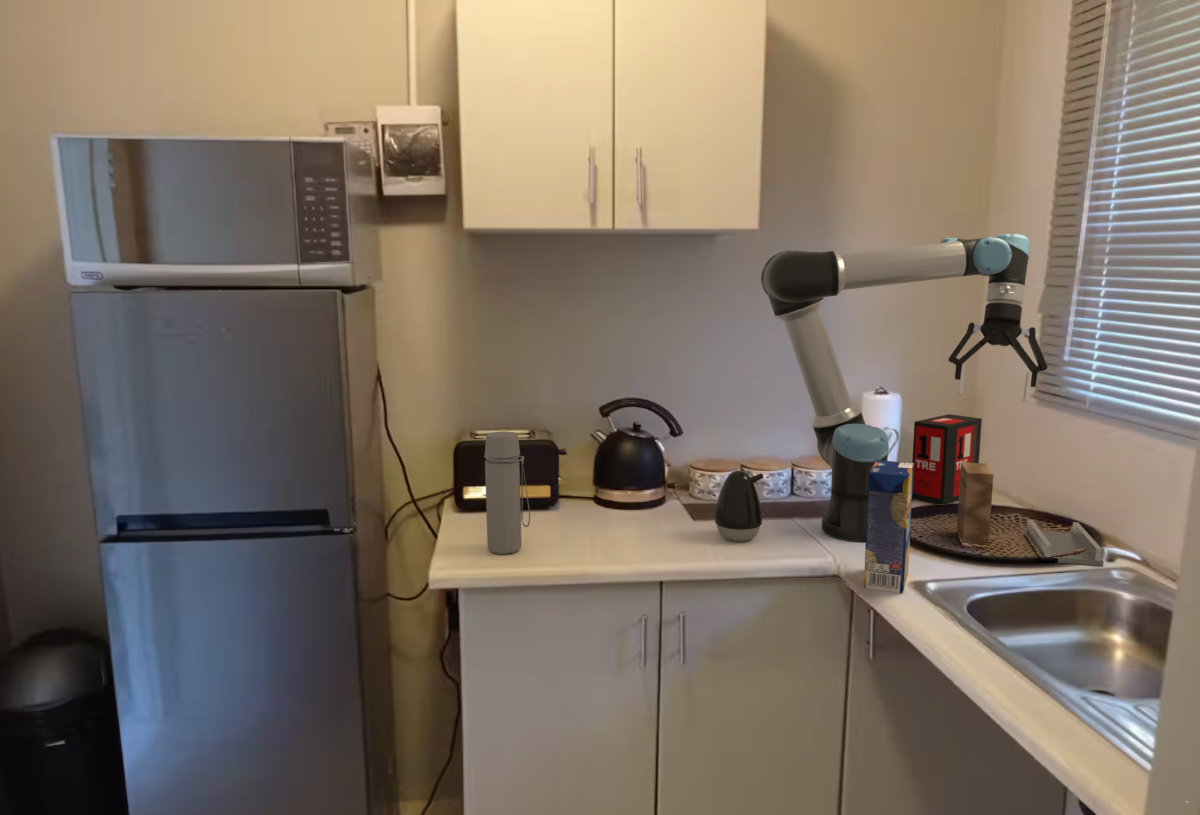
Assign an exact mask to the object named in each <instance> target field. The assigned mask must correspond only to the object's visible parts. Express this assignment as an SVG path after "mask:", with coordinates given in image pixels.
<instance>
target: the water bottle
mask: <svg viewBox="0 0 1200 815" xmlns="http://www.w3.org/2000/svg"><path fill="white" fill-rule="evenodd" d="M519 443H520V442H519V435H518V433H517V432H516V431H507V430H506V431H493V432H488V433H487V434H486V435H485V444H484V445H485V448H484V449H485V450H484V455H483V457H484V458H485V459H486V460H484V473H485V474H484V475H485V476H484V478H485V501H486V502H485V504H486V505H485V506H486V507H485V508H486V510H485V511H486V540H487V542H486V543H487V549H488V550H489V551H490V552H491V553H492V552H493V553H492V554H495V553H497V554H496V555H511V554H510V553H512V554H514V553H516V552H519V551H520V550H521V547H522V526H523V527H524V528H526V527H527V528H528V527H529V526H530V523H531V521H530V520H531V511H530V510H531V509H530V504H529V498H528V490H527V481H526V477H525V474H524V473H525V468H524V462H525V456H523V455H520V454H521V451H520V450H521V449H520V444H519ZM519 458H520V459H519ZM520 464H521V470H520ZM520 471H521V473H520ZM523 478H524V479H523ZM523 482H524V483H523ZM523 484H524V485H523ZM523 486H525V494H526V501H527V508H528V522H527V524H525V523H524V521H523V518H524V517H523V513H524V512H523V510H524V509H523V507H524V506H523V502H524V501H523V496H524V495H523Z"/></svg>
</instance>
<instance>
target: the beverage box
mask: <svg viewBox="0 0 1200 815" xmlns="http://www.w3.org/2000/svg"><path fill="white" fill-rule="evenodd" d="M913 469H914V463H912V462H905V461H895V460H893V461H891V460H887V461H882V460H876V461H875V463H874V464H873V466H872V468H871V470H870V471H869V481H868V503H867V526H866V542H865V551H864V553H865V554H864V572H863V573H864V574H863V589H868V590H874V591H875V590H876V591H883V592H889V593H896V594H903V593H904V590H905V586H906V584H907V579H908V576H909V561H910V560H909V559H910V544H911V543H910V540H911V524H912V523H911V522H912V503H913V499H912V488H913Z"/></svg>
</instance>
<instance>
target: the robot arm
mask: <svg viewBox="0 0 1200 815" xmlns="http://www.w3.org/2000/svg"><path fill="white" fill-rule="evenodd" d="M1029 259H1030V239H1029V238H1028V237H1027V236H1026V235H1023V234H1018V233H1003V234H1002V233H1001V234H998V235H996V236H990V237H981V238H971V239H970V238H968V239H967V238H966V239H965V238H958V237H944V238H943V239H942V240H940V241H939V243H931V244H923V245H921V244H920V245H915V246H912V245H911V246H905V247H895V248H888V249H879V250H878V249H877V250H871V251H870V250H868V251H862V252H853V253H852V252H851V253H845V254H844V253H843V254H839V253H837V252H836V251H835V250H829V251H804V250H802V251H801V250H785V251H780V252H778V253H776V254H773V255H772V256H771V257H770V258H769V259H768V260H767V261H766V262H765V263H764V266H763V268H762V270H761V276H760V281H761V286H762V289H763V292H764V293H765V294H766V295H767V297H768V299H769V303H770V306H771V308H772V311H773V314H774V317H775V318H777V319H779V320H780V321H783V323H784V326H785V328H786V331H787V334H788V338H789V341H790V343H791V346H792V349H793V352H794V356H795V358H796V361H797V364H798V367H799V369H800V373H801V375H802V379H803V382H804V384H805V387H806V390H807V394H808V395H809V399H810V401H811V405H812V408H813V412H814V414H815V418H814V420H813V422H812V423H811V425H812V428H813V431H814V434H815V437H816V440H817V441H816V445H817V450H818V452H819V455H820V457H821V458H822V460H823V461H824V462H825V463H826V464H827V465H829V467H830V468H831V486H830V488H831V489H830V490H831V491H830V492H831V493H830V498H829V500H828V504H826V508H825V511H824V514H823V516H822V519H821V530H822V532H824V534H826V535H827V536H830V537H833V538H836V539H839V540H846V541H852V542H865V543H866V526H867V503H868V481H869V471H870V470H871V468H872V466H873V464H874V463H875V461H876V460H882V461H888V455H889V450H890V448H889V447H890V445H889V437H888V435H887V433H886V431H885V430H883V429H882V428H879V427H878V426H873V425H870V424H866V421H865V418H864V416H863V412H862V410H861V408H859V407H857V406H854V405H853V404H852V400H851V398H850V395H849V392H848V389H847V385H846V383H845V380H844V377H843V374H842V371H841V369H840V365H839V361H838V359H837V356H836V354H835V353H836V352H835V351H834V348H833V344H832V341H831V338H830V336H829V333H828V332H829V331H828V329H827V326H826V323H825V320H824V316H823V315H822V311H821V307H822V306H823V303H824V301H825V298H829V297H834V296H835V297H837V296H839V295H840V293H841V292H842V291H846V290H857V289H863V288H864V289H866V288H871V287H872V288H873V287H880V286H881V287H882V286H889V285H890V286H891V285H900V284H908V283H916V282H924V281H933V280H935V281H936V280H943V279H950V278H959V277H971V276H982V277H988V283H987V284H988V285H987V292H986V299H985V300H986V303H987V304H986V305H985V310H984V315H983V322H982V325H981V324H975V323H974V322H970V323H968V325H967V329H966V332H965V334H964V335H963V337H962V338H961V340H960V341H959V342H958V344H957V345H956V347H955V349H954V350H953V351H952V353H951V355H949V356H948V359H947V361H948V363H951V364H954V366H955V370H954V380H958V381H959V382H958V391H957V395H959V396H962V395H963V392H964V382H965V375H966V366H967V365H964V363H965V362H966V361H967V360H969V359H970V358H971V357H972V356H974V354H976V353H977V352H978V351H980V350H981V348H982V347H984V346H985V345H986V344H989V345H991V346H1001V347H1009V346H1011V348H1012V349H1013V350H1014V351H1015V352H1016V354H1017V355H1018V357H1019V358H1020V359H1021V360H1022V362H1023V363H1024V365H1025V366H1026V367H1027V369H1029V371H1027V372H1026V375H1025V376H1026V377H1025V384H1024V393H1023V400H1022V402H1024V403H1028V402H1030V401H1029V400H1030V391H1031V388H1035V387H1036V385H1037V379H1038V374H1039V372H1040V373H1041V372H1044V371H1046V370H1047V369H1048V364H1047V362H1046V360H1045V357H1044V355H1043V352H1042V350H1041V347H1040V345H1039V343H1038V340H1037V337H1036V328H1035V327H1033V326H1032V327H1030V328H1029V327H1027V328H1022V326H1021V320H1022V313H1023V311H1022V310H1023V307H1022V304H1023V303H1024V297H1025V296H1024V295H1025V286H1026V278H1027V273H1028V264H1029ZM978 331H980V332H981V334H982V336H983V338H982V339H981V340H980V341H978V342H977V343H976V344H975V345H973V347H972V348H970V349H969V350H968V351H967V352H966V353H965V354H963V356H961V357H960V358H957V357H958V356H959V354H960V352H962V350H963V348H964V347H965V345H966V344H967V342H968V341H969V339H971V336H972V335H974V334H977V332H978ZM1021 334H1022V335H1023V336H1024V338H1025V339H1027V341H1028V343H1029V346H1030V348H1031V350H1032V354H1033V356H1034V358H1035V361H1036V363H1037V364H1036V363H1035V362H1034V361H1033V360H1032V358H1031V356H1029V354H1028V353H1027V351H1025V349H1024V347H1023V346H1022V345H1021V343H1020V342H1019V340H1018V338H1019V336H1020V335H1021Z"/></svg>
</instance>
